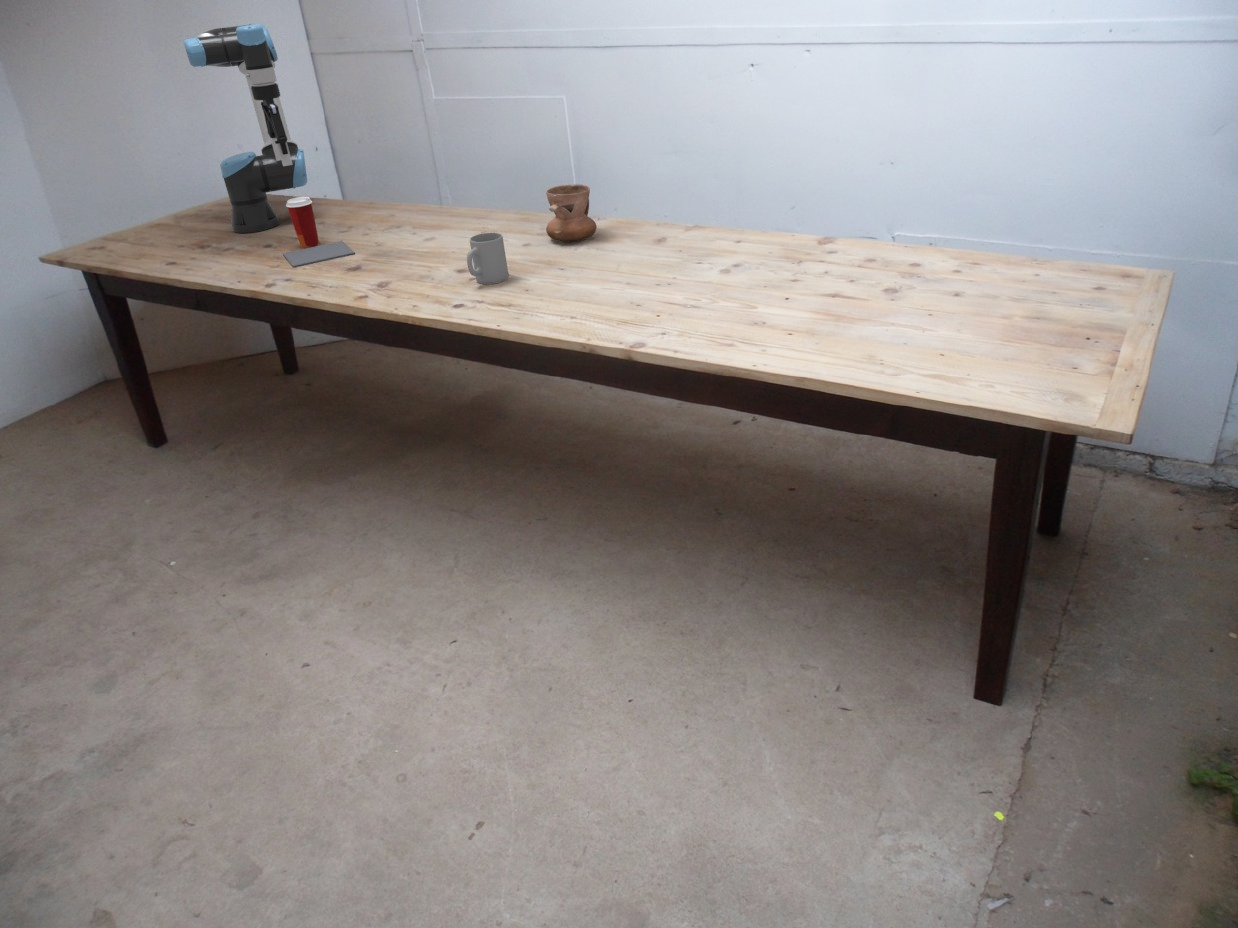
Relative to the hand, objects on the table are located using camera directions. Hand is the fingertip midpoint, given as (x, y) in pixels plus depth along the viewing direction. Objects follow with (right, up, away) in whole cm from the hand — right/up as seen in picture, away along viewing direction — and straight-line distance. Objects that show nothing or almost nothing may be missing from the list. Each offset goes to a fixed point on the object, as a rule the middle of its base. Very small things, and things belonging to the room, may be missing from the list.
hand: (284, 162), depth 275 cm
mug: (+68, -44, -40) cm, 90 cm away
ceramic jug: (+88, -26, -12) cm, 93 cm away
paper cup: (+6, -24, +6) cm, 25 cm away
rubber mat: (+12, -29, -5) cm, 32 cm away
